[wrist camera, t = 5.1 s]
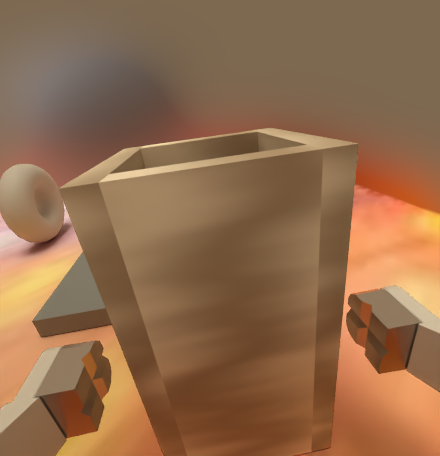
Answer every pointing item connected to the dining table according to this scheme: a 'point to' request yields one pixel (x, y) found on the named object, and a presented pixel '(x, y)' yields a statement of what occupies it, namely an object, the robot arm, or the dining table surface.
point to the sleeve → (225, 283)
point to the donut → (31, 203)
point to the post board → (73, 304)
